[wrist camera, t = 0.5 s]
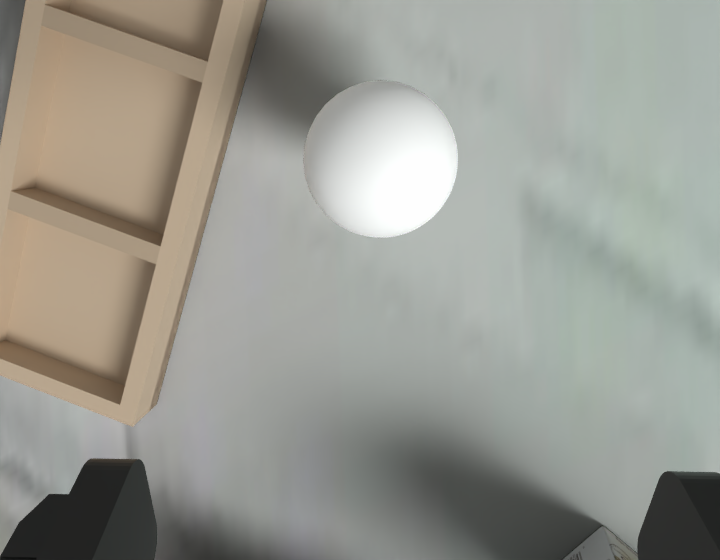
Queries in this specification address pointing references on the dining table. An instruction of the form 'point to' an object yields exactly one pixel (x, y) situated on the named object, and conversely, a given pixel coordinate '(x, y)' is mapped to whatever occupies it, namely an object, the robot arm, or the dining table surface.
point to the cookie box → (602, 548)
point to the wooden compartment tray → (111, 187)
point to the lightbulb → (380, 159)
